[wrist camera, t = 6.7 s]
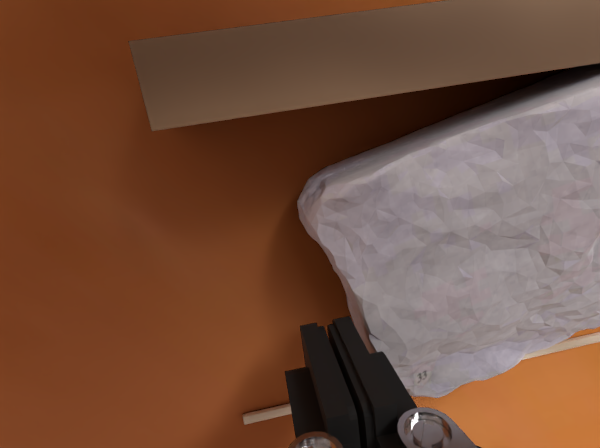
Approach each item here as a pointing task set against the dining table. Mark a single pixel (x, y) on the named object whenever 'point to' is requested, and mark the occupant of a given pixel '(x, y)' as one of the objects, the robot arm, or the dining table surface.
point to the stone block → (470, 234)
